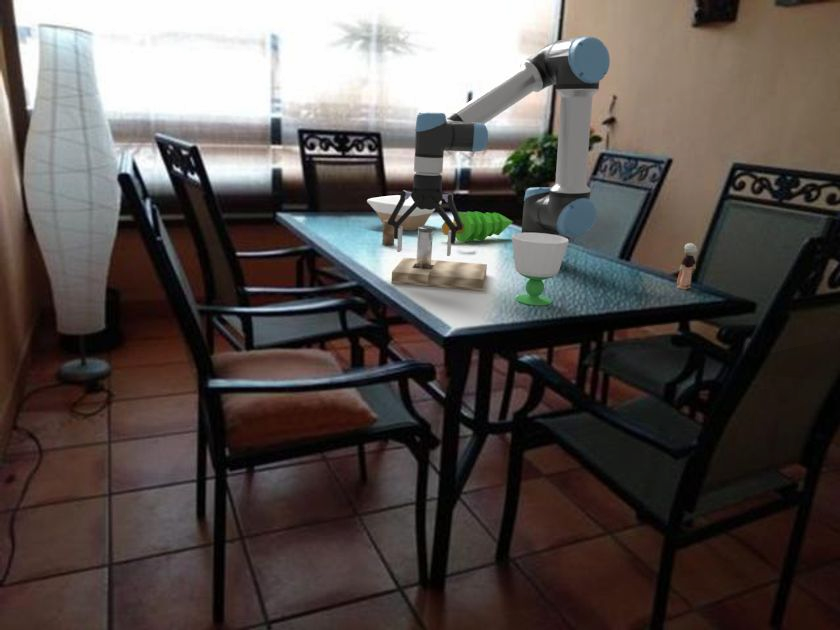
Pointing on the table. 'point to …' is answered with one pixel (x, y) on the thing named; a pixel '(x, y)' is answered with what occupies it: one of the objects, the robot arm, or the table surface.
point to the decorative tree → (478, 225)
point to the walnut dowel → (388, 233)
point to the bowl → (388, 204)
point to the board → (441, 274)
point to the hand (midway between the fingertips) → (423, 253)
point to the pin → (424, 247)
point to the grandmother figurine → (686, 267)
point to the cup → (537, 262)
